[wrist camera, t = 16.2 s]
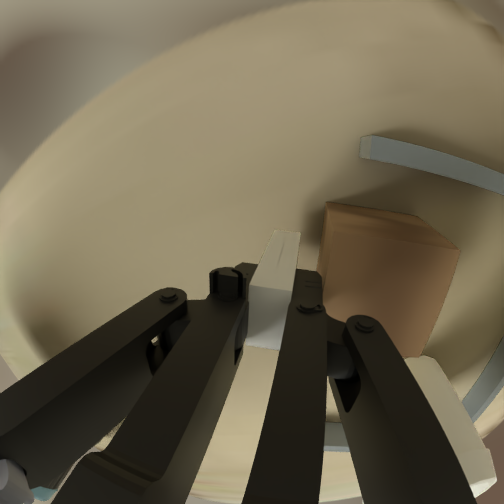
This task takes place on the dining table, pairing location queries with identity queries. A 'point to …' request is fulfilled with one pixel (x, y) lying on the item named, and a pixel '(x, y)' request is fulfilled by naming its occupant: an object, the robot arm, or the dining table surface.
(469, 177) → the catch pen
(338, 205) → the walnut block
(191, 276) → the dining table surface
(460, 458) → the foam cup
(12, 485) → the robot arm
